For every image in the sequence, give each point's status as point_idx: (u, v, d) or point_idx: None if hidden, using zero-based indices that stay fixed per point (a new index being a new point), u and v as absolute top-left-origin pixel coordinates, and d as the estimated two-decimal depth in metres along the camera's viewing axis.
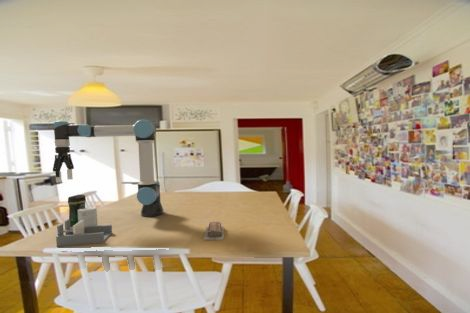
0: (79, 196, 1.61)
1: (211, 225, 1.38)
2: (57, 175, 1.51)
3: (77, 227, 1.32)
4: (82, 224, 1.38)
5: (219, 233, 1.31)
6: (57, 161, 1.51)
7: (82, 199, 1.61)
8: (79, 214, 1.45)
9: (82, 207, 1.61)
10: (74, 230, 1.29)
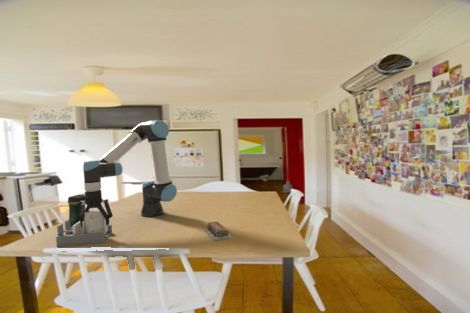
0: (79, 196, 1.61)
1: (213, 225, 1.38)
2: (81, 225, 1.34)
3: (77, 227, 1.32)
4: None
5: (226, 232, 1.32)
6: None
7: (82, 199, 1.61)
8: (86, 217, 1.32)
9: None
10: (74, 230, 1.29)
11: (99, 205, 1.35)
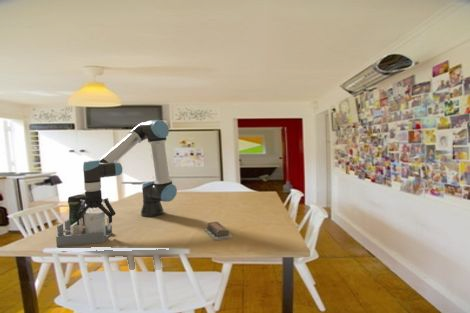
0: (79, 196, 1.61)
1: (213, 225, 1.38)
2: None
3: (75, 227, 1.32)
4: None
5: (227, 232, 1.32)
6: None
7: (82, 199, 1.61)
8: (86, 218, 1.32)
9: (82, 207, 1.61)
10: (72, 230, 1.29)
11: (100, 204, 1.35)
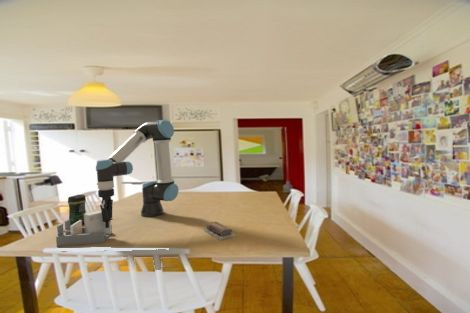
0: (79, 196, 1.61)
1: (214, 225, 1.38)
2: (107, 226, 1.35)
3: (75, 227, 1.32)
4: (80, 224, 1.37)
5: (230, 231, 1.34)
6: (105, 212, 1.31)
7: (82, 199, 1.61)
8: (86, 218, 1.32)
9: (82, 207, 1.61)
10: (72, 230, 1.29)
11: None
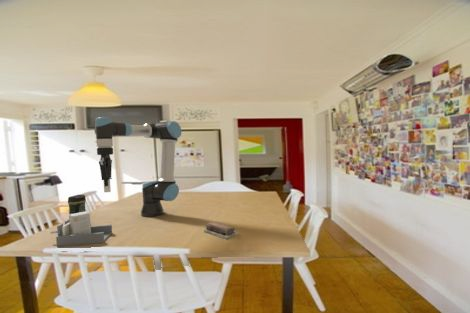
0: (79, 196, 1.61)
1: (216, 225, 1.38)
2: (106, 184, 1.34)
3: (67, 228, 1.31)
4: None
5: (233, 229, 1.36)
6: (103, 169, 1.30)
7: (82, 199, 1.61)
8: (70, 219, 1.32)
9: (82, 207, 1.61)
10: (64, 231, 1.29)
11: None
